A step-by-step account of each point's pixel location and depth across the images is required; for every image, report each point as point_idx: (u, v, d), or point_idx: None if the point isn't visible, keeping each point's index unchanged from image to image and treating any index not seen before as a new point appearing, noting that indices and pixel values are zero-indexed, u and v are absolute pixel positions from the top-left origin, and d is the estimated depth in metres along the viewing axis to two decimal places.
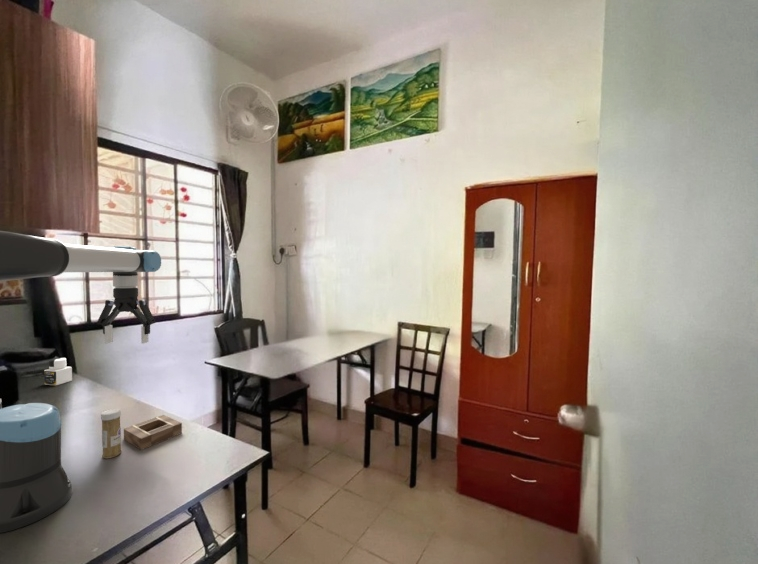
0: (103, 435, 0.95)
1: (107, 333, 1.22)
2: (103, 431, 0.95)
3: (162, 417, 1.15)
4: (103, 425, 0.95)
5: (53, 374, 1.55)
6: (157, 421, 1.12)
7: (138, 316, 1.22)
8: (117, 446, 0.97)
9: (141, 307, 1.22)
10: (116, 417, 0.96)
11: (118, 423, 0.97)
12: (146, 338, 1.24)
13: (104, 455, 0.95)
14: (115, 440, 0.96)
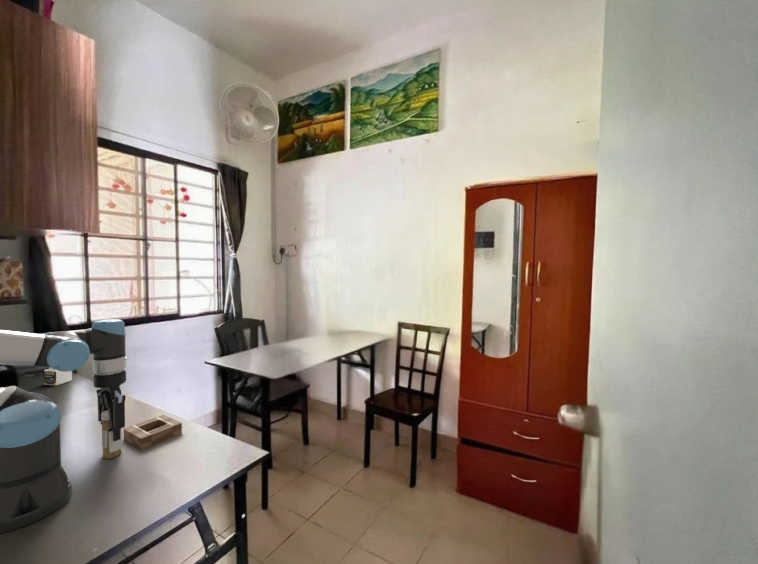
0: (103, 435, 0.95)
1: None
2: (103, 431, 0.95)
3: (162, 417, 1.15)
4: (103, 425, 0.95)
5: (53, 374, 1.55)
6: (157, 421, 1.12)
7: (110, 415, 0.94)
8: None
9: (113, 406, 0.93)
10: None
11: None
12: (117, 445, 0.96)
13: (104, 455, 0.95)
14: None
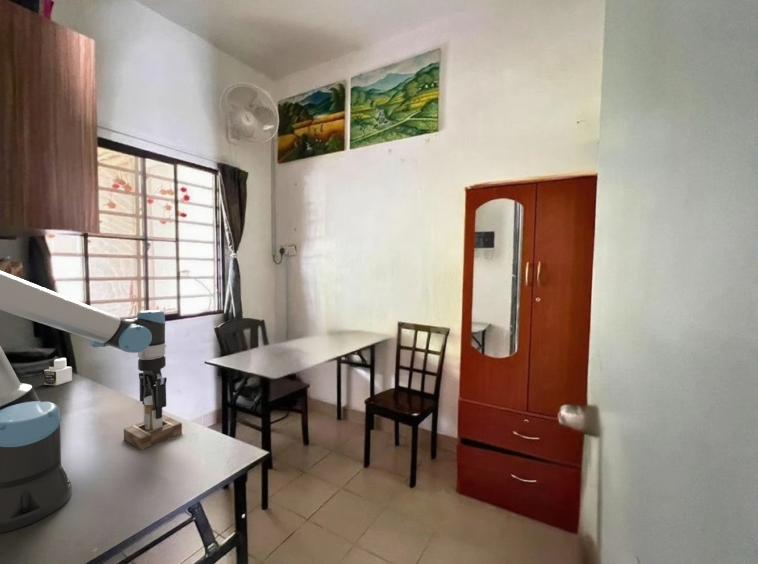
0: (146, 418, 1.06)
1: None
2: (146, 414, 1.06)
3: (162, 417, 1.15)
4: (146, 409, 1.06)
5: (53, 374, 1.55)
6: None
7: (153, 396, 1.05)
8: None
9: (156, 387, 1.04)
10: None
11: None
12: (158, 422, 1.07)
13: None
14: None
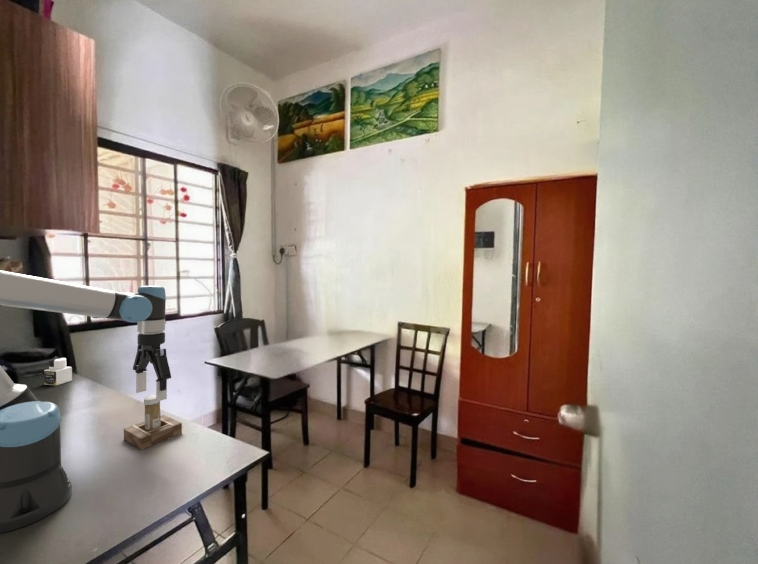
0: (146, 418, 1.06)
1: (138, 381, 1.10)
2: (146, 414, 1.06)
3: (162, 417, 1.15)
4: (146, 409, 1.06)
5: (53, 374, 1.55)
6: None
7: (155, 368, 1.04)
8: None
9: (157, 358, 1.03)
10: (157, 402, 1.07)
11: (158, 407, 1.08)
12: (163, 395, 1.04)
13: None
14: (157, 423, 1.07)
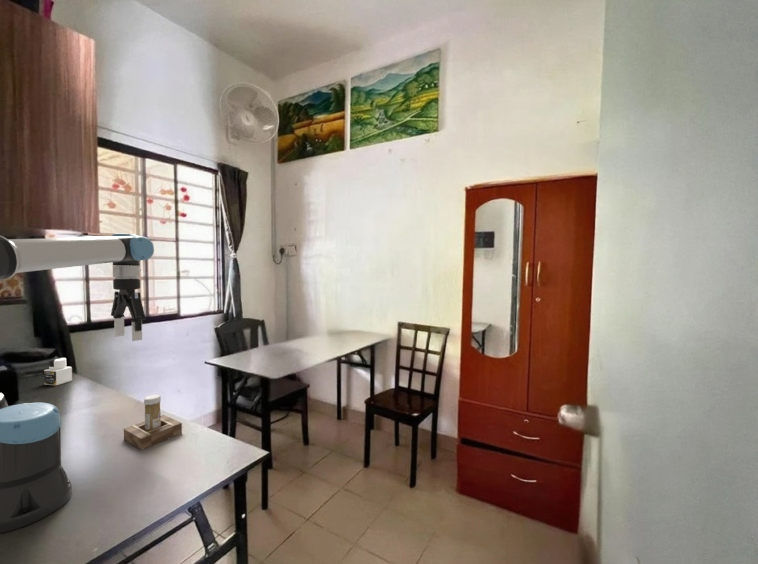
0: (146, 418, 1.06)
1: (116, 326, 1.16)
2: (146, 414, 1.06)
3: (162, 417, 1.15)
4: (146, 409, 1.06)
5: (53, 374, 1.55)
6: None
7: (130, 310, 1.10)
8: None
9: (131, 300, 1.09)
10: (157, 402, 1.08)
11: (159, 407, 1.08)
12: (138, 335, 1.11)
13: None
14: (157, 423, 1.07)
